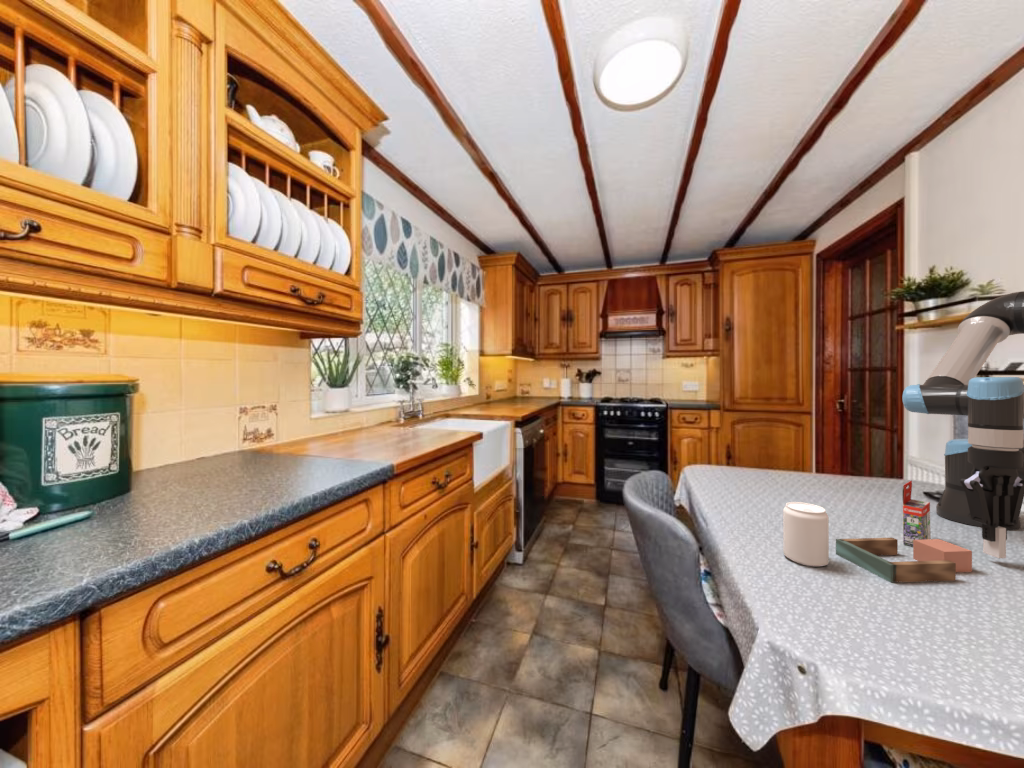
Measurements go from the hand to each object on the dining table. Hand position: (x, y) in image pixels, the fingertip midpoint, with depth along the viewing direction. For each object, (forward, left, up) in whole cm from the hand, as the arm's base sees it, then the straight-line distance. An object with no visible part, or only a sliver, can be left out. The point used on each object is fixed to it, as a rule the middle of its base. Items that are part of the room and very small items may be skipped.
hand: (994, 555), depth 83 cm
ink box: (+5, -11, -2) cm, 12 cm away
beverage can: (+39, -4, -2) cm, 39 cm away
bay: (+23, 0, -2) cm, 23 cm away
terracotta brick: (+12, 0, -2) cm, 12 cm away
